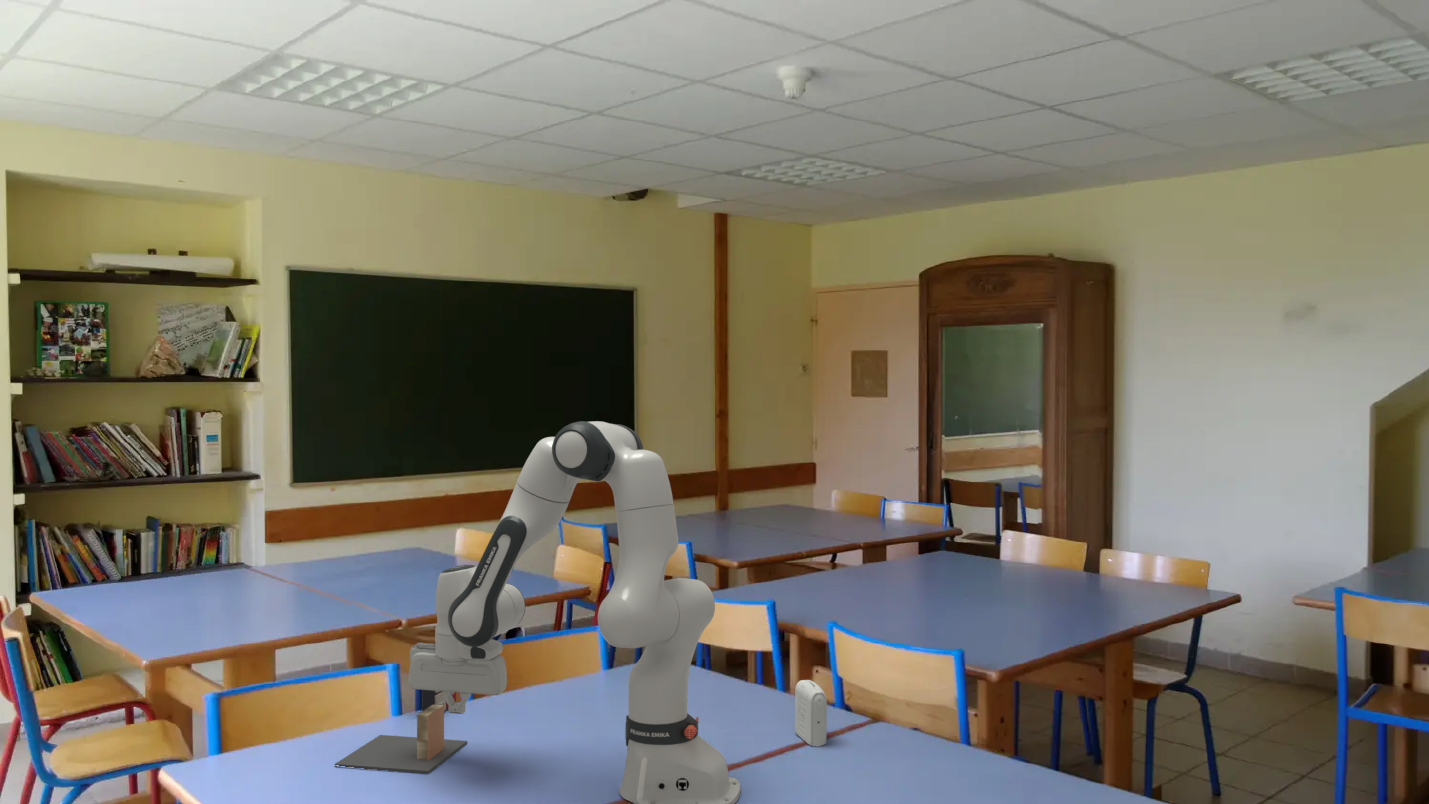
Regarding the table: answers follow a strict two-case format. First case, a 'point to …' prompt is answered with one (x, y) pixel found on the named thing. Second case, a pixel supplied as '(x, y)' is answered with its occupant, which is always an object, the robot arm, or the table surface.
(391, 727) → the table surface
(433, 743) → the tile
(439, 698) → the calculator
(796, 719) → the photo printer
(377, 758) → the mat
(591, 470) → the robot arm
